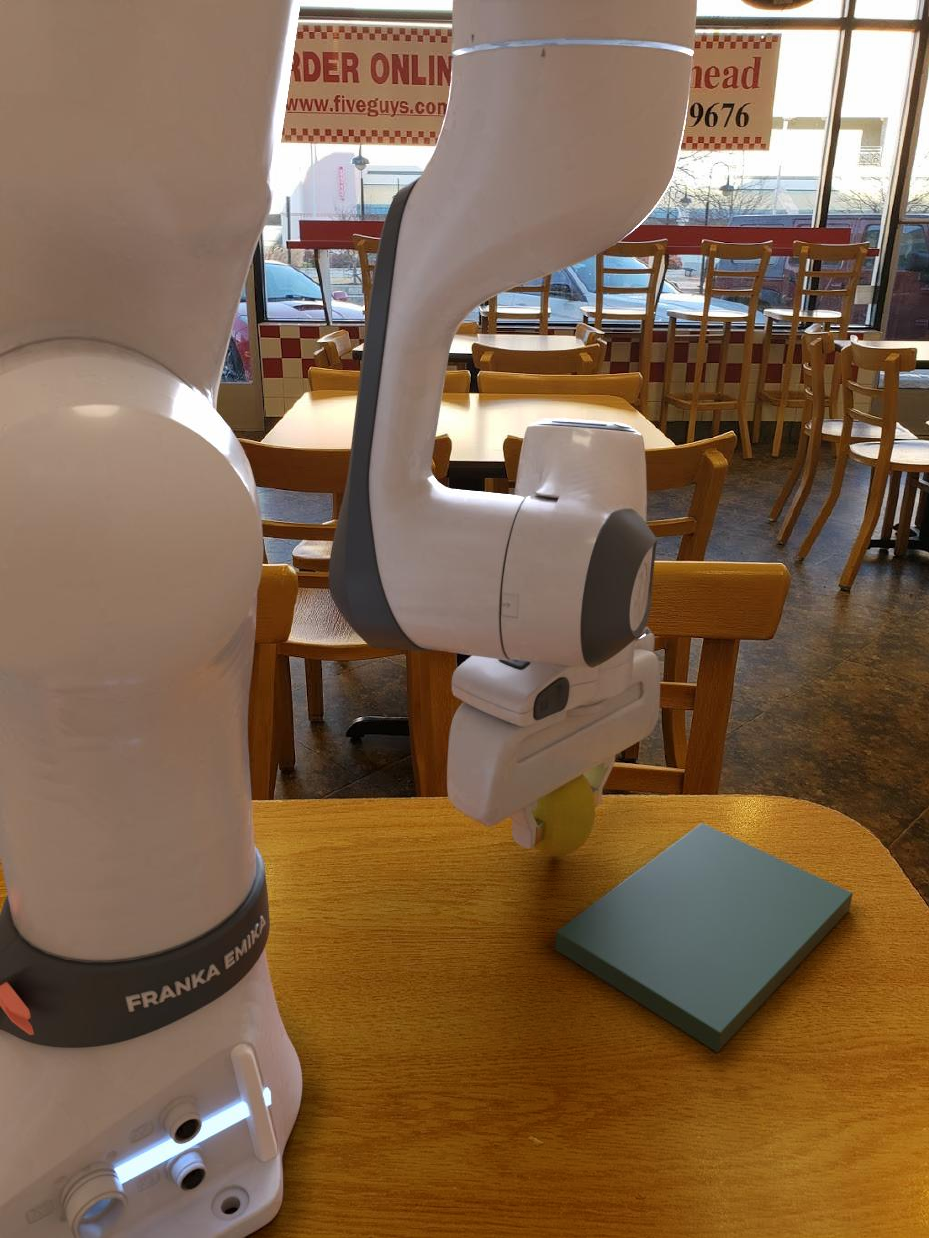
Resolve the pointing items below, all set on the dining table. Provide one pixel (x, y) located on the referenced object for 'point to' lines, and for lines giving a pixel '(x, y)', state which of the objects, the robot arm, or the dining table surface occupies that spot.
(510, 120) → the robot arm
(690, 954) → the cutting board
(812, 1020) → the dining table surface
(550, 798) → the lemon
